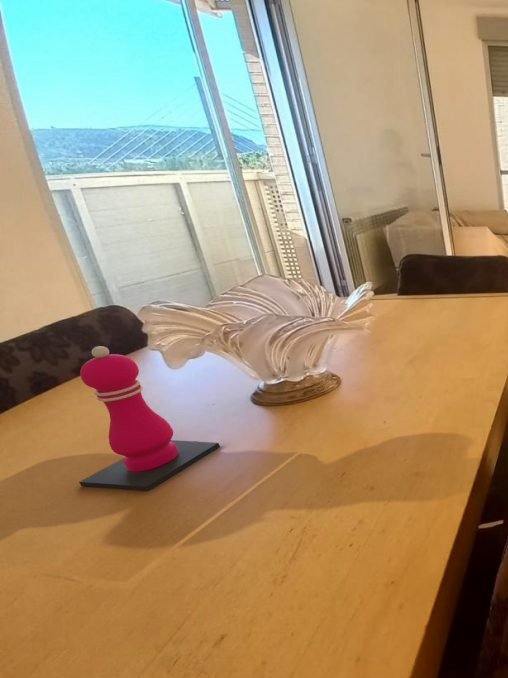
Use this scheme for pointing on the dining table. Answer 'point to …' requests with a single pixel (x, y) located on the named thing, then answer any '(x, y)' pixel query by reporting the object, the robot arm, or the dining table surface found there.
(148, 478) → the slate mat
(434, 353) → the dining table surface
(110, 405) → the pepper mill
